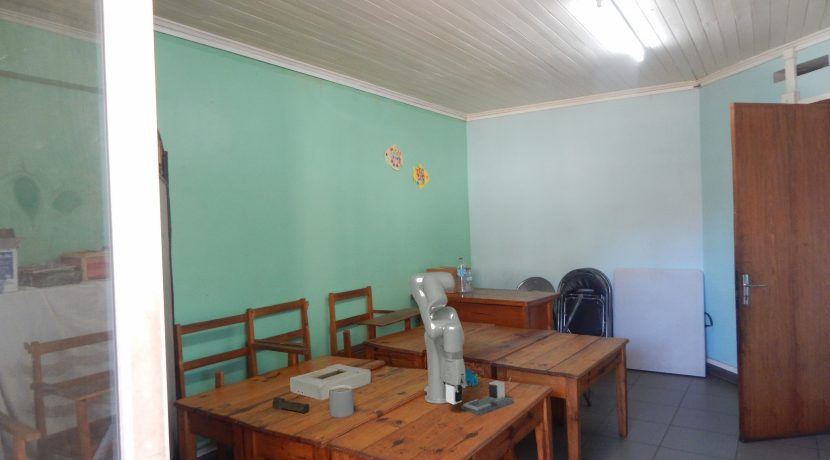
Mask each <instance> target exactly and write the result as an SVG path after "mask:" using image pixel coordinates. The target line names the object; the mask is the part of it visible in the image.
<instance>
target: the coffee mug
mask: <svg viewBox="0 0 830 460" xmlns="http://www.w3.org/2000/svg"><path fill="white" fill-rule="evenodd" d="M354 399H355V398H354V389H353V387H352V386H348V385H339V386H334V387H331V388H330V389H329V398H328V403H329V404H328V405H329V409H328V410H329V415H330V417H333V418H345V417H349V416H352V415H353V414H355V405H354V404H355V403H354V402H355V400H354Z"/></svg>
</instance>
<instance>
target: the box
mask: <svg viewBox="0 0 830 460" xmlns="http://www.w3.org/2000/svg"><path fill="white" fill-rule="evenodd" d="M371 373H372V371H371V370H370V369H366V368H361V367H354V366H349V365H347V364H346V365H344V364H341V363H337V364H336V363H335V364H333V365H329V366H327V367H326V368H325V367H324V368H321V369H318V370H314V371H312V372H308V373H304V374H301V375H300V374H298V375H295V376H293V377H290V378H289V379H290V380H289V390H290V391H289V392H290V393H294V394H298V395H302V396H304V397H309V398H312V399H316V400H318V401H323V400H328V399H329V389H330V388H331V387H334V386H339V385H348V386H352V387H353V390H354V389H355V390H356V389H357V388H360V387H363V386H366V385H368V384H371V382H372V381H371V380H372V374H371ZM298 391H299V392H298ZM302 392H303V393H302Z"/></svg>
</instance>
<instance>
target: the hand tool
mask: <svg viewBox="0 0 830 460" xmlns="http://www.w3.org/2000/svg"><path fill="white" fill-rule="evenodd" d="M272 408H274V409H278V410H286V411H287V410H289V411H293V412H298V413H302V414H303V415H304V414H307V413H309V411H310V404H309V403H303V402H302V403H301V402H295V401H289V400H286V398H283V397H276V396H275V397H274V398H273V400H272Z"/></svg>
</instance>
